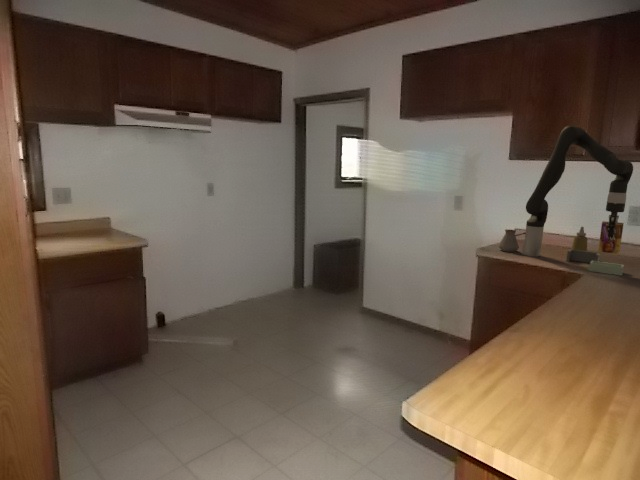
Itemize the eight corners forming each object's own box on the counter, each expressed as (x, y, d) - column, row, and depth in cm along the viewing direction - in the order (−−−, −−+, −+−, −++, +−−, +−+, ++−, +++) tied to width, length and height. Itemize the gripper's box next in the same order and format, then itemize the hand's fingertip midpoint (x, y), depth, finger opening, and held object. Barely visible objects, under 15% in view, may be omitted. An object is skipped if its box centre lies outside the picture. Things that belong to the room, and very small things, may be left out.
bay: (566, 261, 236) (567, 251, 235) (568, 259, 242) (569, 249, 241) (596, 266, 227) (598, 255, 226) (598, 263, 233) (600, 252, 232)
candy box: (619, 253, 213) (624, 222, 210) (619, 254, 209) (623, 223, 206) (598, 250, 218) (602, 220, 215) (597, 251, 214) (602, 221, 211)
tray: (588, 270, 216) (589, 263, 215) (590, 267, 222) (591, 260, 222) (621, 275, 208) (622, 267, 207) (622, 272, 214) (623, 264, 214)
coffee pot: (497, 251, 260) (499, 226, 257) (499, 248, 270) (501, 224, 267) (536, 255, 250) (539, 230, 247) (536, 252, 260) (539, 228, 257)
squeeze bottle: (581, 256, 253) (586, 226, 250) (588, 259, 245) (593, 228, 242) (567, 255, 254) (571, 225, 251) (574, 258, 246) (578, 227, 243)
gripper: (608, 200, 217) (603, 233, 220) (605, 202, 206) (600, 237, 209) (626, 201, 212) (620, 235, 215) (624, 203, 201) (619, 239, 204)
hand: (610, 236), depth 212 cm, fingers closed on candy box, 4 cm apart
